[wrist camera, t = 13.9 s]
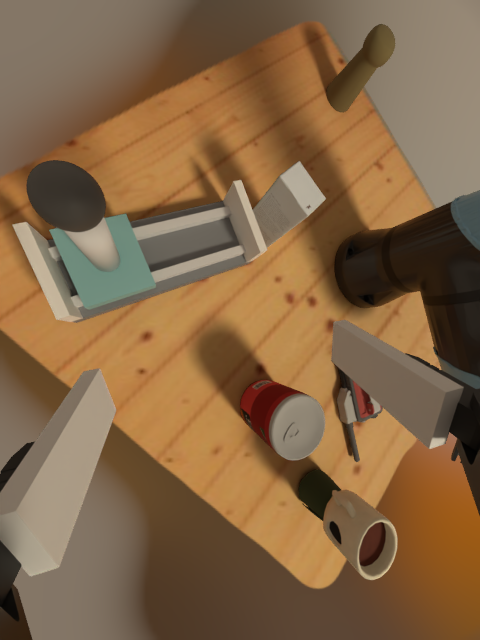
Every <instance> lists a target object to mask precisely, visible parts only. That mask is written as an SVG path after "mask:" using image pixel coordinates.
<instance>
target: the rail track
mask: <svg viewBox="0 0 480 640" xmlns="http://www.w3.org/2000/svg"><path fill="white" fill-rule="evenodd" d="M130 225H131V227H132V229H133V232H134V234H135V236H136V239H137V241H138V243H139V246H140V248H141V251H142V253H143V255H144V258H145V260H146V262H147V265H148V267H149V269H150V272H151V274H152V276H153V279H154V281H155V284H156V288H153V289H150V290H147V291H144V292H141V293H138V294H135V295H132V296H129V297H126V298H123V299H120V300H117V301H114V302H111V303H108V304H105V305H102V306H99V307H96V308H93V309H90V310H89V309H86V308H85V307H84V305H83V303H82V301H81V299H80V297H79V294H78V292H77V290H76V288H75V286H74V283H73V281H72V279H71V277H70V275H69V272H68V270H67V268H66V266H65V264H64V261H63V259H62V257H61V255H60V253H59V250H58V248H57V246H56V244H55V242H54V239H51V240H46V239H45V238H44V237H43V236H42V235H41V234H40V233H38V232H37V231H36V230H35V229H34V228H33V227H32V226H31V225H30V224H28V223H27V222H23V223H18V224H13V225H12V226H13V228H14V230H15V232H16V234H17V236H18V238H19V240H20V243H21V245H22V247H23V249H24V251H25V253H26V255H27V258H28V260H29V262H30V264H31V266H32V268H33V270H34V272H35V275H36V277H37V279H38V281H39V283H40V285H41V287H42V290H43V292H44V294H45V296H46V298H47V300H48V302H49V304H50V307H51V309H52V311H53V313H54V315H55V317H56V319H57V320H62V321H69V322H76V323H77V322H80V321H83V320H86V319H89V318H92V317H95V316H98V315H101V314H104V313H106V312H109V311H112V310H115V309H118V308H121V307H124V306H127V305H130V304H133V303H136V302H139V301H141V300H144V299H147V298H150V297H153V296H156V295H159V294H162V293H165V292H168V291H171V290H174V289H176V288H179V287H182V286H185V285H188V284H191V283H194V282H197V281H200V280H203V279H206V278H209V277H211V276H214V275H217V274H220V273H223V272H226V271H229V270H232V269H235V268H238V267H241V266H244V265H246V264H249V263H250V262H252V261H253V260H254V259H256V258H257V257H259V256H260V255H261V254H263V253H264V252H266V251H267V247H266V245H265V242H264V239H263V237H262V234H261V231H260V229H259V226H258V223H257V221H256V218H255V215H254V213H253V210H252V207H251V205H250V202H249V199H248V197H247V194H246V191H245V189H244V186H243V183H242V181H241V180H238V181H233V183H232V185H231V187H230V189H229V191H228V192H227V194H226V196H225V198H224V200H223V201H221V202H216V203H212V204H207V205H203V206H198V207H194V208H189V209H185V210H180V211H176V212H172V213H167V214H163V215H158V216H154V217H149V218H145V219H140V220H136V221H131V222H130Z"/></svg>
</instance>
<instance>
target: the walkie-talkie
mask: <svg viewBox="0 0 480 640" xmlns="http://www.w3.org/2000/svg"><path fill="white" fill-rule="evenodd" d="M338 368H339V367H338ZM339 372H340V373H339V374H340V377H341V378H340V379H341V382H342V387H341V388H340V391H339V395H338V398H337V404H338V409H339V413H340V421H342V422H344V423H345V425H346V428H347V431H348V435H349V440H350V445H351V448H352V451H353V456H354V460H355V461H356V462H359V460H360V459H359V454H358V450H357V445H356V440H355V436H354V431H353V422H356V421H359V422H365V421H366V420H367V419H369V418H376V417H377V416H378V415H377V414H379V413H381V412H382V406H381V405H380V404H379V403H378V402H376V401H375V400H374V399H373V398H372V397H371V396H370V395H369V394H368V393H366V392H365V391H364V390H363V389H362V388H361V387H360V386H359V385H358V384H356V383H355V382H354V381H353V380H352V379H351V378H350V377H349V376H347V375H346V374H345V373H344V372H343V371H342V370H341V369H340V368H339Z"/></svg>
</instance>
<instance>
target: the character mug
mask: <svg viewBox="0 0 480 640" xmlns="http://www.w3.org/2000/svg"><path fill="white" fill-rule="evenodd" d="M299 498H300V499H301V500H302V501H303V502H304V503H305V504H306V505H307V506H308V507H307V506H305V505H304V504H303V503H302V504H303V505H304V506H305V507H306V508H307V509H308V510H310V511H311V512H312V513H313V514H314V515H316V516H317V517H318V518H319V519H321V520H322V521H323V528H324V531H325V533H326V534H327V536H328V537H329V539H330V540H331V541H332V542H333V544H334V545H335V546H336V547H337V548H338V549H339V550H340V551H341V553H342V554H343V555H344V556H345V557H346V558H347V560H348V561H349V562H350V563H351V564H352V565H353V567H354V568H355V569H356V570H357V571H358V572H359V573H360V574H361V575H362V576H363V577H364V578H365V579H369V580H374V579H377V578H380V577H381V576H382V575H383V574H385V573H386V572H387V571H388V569H389V568H390V566H391V564H392V562H393V561H394V557H395V554H396V550H397V534H396V530H395V527H394V526H393V525H392V523H391V522H390V521H389V520H388V519H387V518H386V517H384V516H383V515H382V514H381V513H379V512H378V511H377V510H376V509H374V508H373V507H372V506H371V505H369V504H368V503H367V502H365V501H364V500H363V499H362V498H360V497H359V496H358V495H357V494H355V493H353V492H351V491H349V490H341V489H340V488H339V487H338V486H337V485H336V484H335V483H334V481H333V480H332V479H331V478H330V477H329V476H328V475H327V474H326V473H324V472H323V471H321V470H313V471H312V472H310V473H308V474H307V475H306V476H305V477H304V478H303V479H302V480H301V483H300V486H299Z"/></svg>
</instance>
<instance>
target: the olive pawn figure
mask: <svg viewBox="0 0 480 640" xmlns="http://www.w3.org/2000/svg"><path fill="white" fill-rule="evenodd" d="M394 48H395V38H394V35H393V33H392V31H391V30H390V28H389V27H388V26H386V25H383V24H380V25H377V26H375V27H374V28H373V29H372V30H371V31H370V33H369V34H368V36H367V37H366V39H365V42H364V44H363V48H362V49H361V50H360V51H359V52H358V53H357V54H356V56H355V57H354V58H353V59H352V60H351V61H350V62H349V63H348V64H347V66H346V67H345V68H344V69H343V70H342V71H341V72H340V73H339V74H338V76H337V77H336V78H335V79H334V80H333V81H332V82H331V83H330V84H329V86H328V87H327V98H328V101H329V103H330V104H331V106H332V107H333V108H334V109H335V110H336V111H339V112H346V111H347V110H348V109H349V107H350V106H351V104H352V103H353V101H354V100H355V99H356V97H357V96H358V94H359V93H360V91H361V90H362V89H363V87H364V86H365V84H366V83H367V81H368V80H369V79H370V77H371V76H372V74H373V73H374V72H375V70H376V68H378V67H381V66H382V65H384V64H385V63H386V62H387V61H388V59H389V58H390V57H391V55H392V54H393V51H394Z"/></svg>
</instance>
